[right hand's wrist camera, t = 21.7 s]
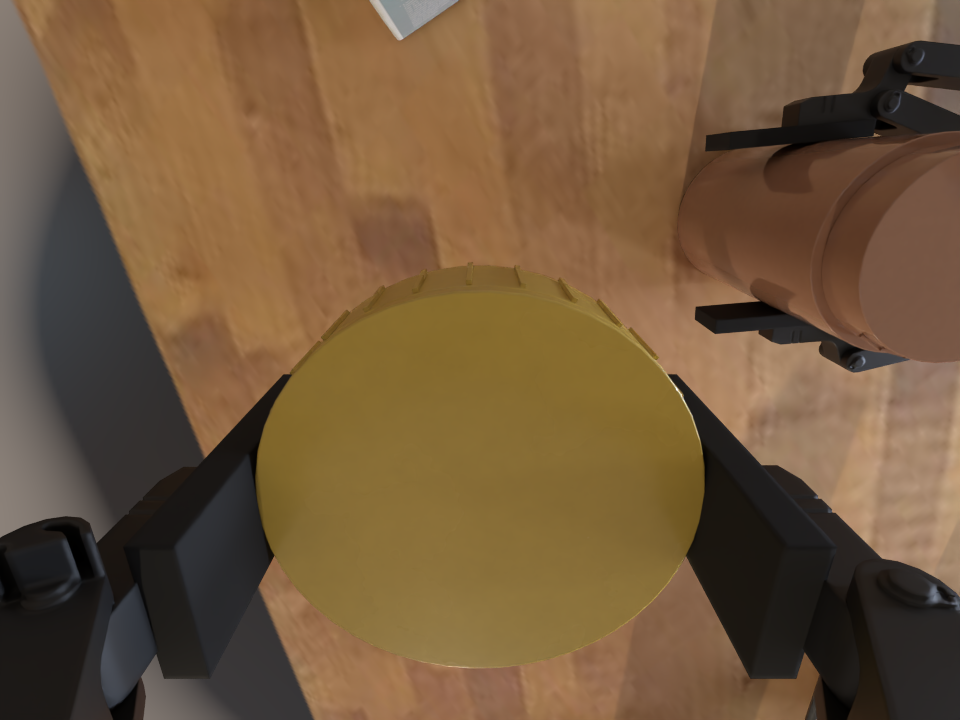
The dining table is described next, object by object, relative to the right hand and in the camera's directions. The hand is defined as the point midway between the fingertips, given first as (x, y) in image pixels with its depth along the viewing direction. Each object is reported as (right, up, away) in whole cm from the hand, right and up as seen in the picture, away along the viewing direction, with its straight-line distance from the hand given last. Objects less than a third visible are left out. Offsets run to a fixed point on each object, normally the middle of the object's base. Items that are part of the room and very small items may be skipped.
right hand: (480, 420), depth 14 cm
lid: (0, -1, -3) cm, 4 cm away
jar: (+17, +11, +18) cm, 27 cm away
